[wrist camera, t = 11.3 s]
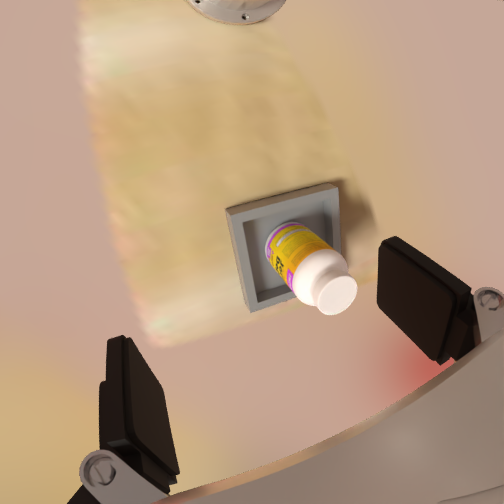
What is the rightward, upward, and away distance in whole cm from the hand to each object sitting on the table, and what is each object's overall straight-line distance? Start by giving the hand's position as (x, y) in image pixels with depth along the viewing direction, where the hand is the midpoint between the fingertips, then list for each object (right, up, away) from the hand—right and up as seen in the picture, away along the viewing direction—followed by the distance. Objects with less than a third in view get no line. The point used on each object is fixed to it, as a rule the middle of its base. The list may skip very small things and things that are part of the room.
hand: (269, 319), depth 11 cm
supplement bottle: (+4, +3, +31) cm, 32 cm away
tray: (+4, +3, +32) cm, 32 cm away
